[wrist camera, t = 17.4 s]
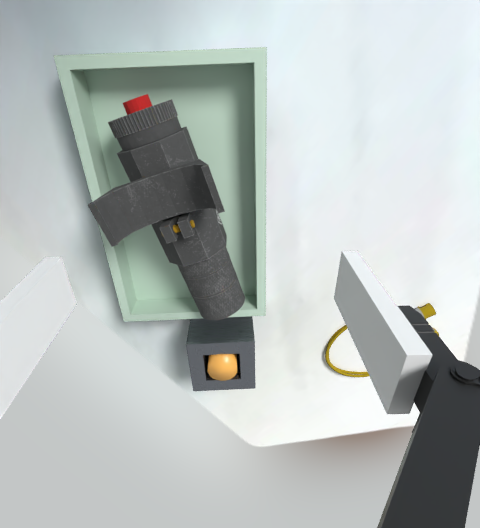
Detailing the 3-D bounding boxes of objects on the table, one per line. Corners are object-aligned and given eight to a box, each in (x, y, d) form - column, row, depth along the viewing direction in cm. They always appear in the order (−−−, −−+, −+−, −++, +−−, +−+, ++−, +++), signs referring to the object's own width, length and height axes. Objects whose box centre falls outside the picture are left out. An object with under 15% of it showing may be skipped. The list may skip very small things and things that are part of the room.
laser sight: (186, 299, 42) (174, 357, 33) (96, 114, 31) (43, 128, 22) (260, 278, 40) (268, 333, 32) (192, 78, 30) (177, 78, 21)
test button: (208, 332, 43) (206, 360, 39) (235, 331, 43) (236, 359, 39) (210, 352, 45) (208, 381, 41) (237, 351, 45) (237, 380, 41)
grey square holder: (191, 312, 44) (186, 344, 38) (251, 310, 44) (254, 341, 38) (197, 356, 48) (193, 391, 42) (252, 354, 48) (255, 388, 42)
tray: (73, 58, 29) (53, 55, 26) (262, 50, 30) (266, 47, 26) (132, 303, 43) (123, 321, 39) (262, 297, 43) (265, 315, 39)
